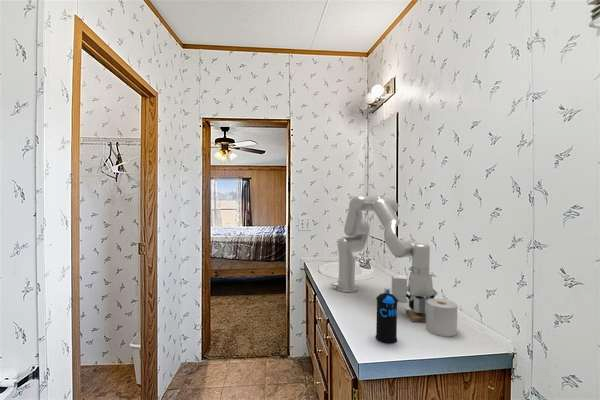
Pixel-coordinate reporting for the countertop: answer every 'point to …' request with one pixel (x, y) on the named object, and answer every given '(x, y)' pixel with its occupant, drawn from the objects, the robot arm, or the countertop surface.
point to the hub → (420, 304)
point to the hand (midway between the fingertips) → (419, 308)
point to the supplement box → (399, 287)
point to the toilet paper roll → (441, 317)
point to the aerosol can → (386, 317)
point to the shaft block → (416, 316)
